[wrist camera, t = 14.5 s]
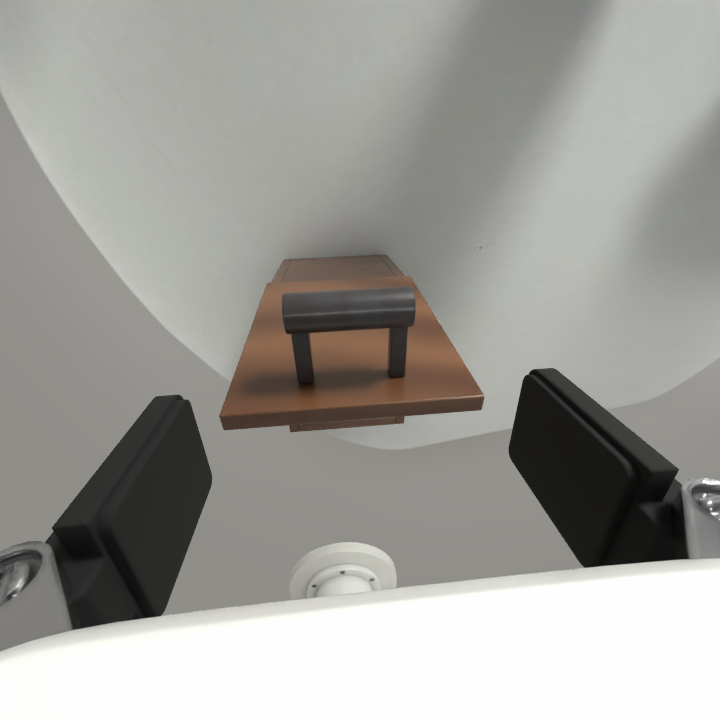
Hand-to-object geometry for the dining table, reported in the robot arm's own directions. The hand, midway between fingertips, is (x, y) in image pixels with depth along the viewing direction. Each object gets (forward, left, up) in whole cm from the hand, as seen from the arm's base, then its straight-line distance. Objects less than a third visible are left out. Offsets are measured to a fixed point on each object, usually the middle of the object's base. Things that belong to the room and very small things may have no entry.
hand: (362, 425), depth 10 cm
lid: (-2, 0, -11) cm, 11 cm away
